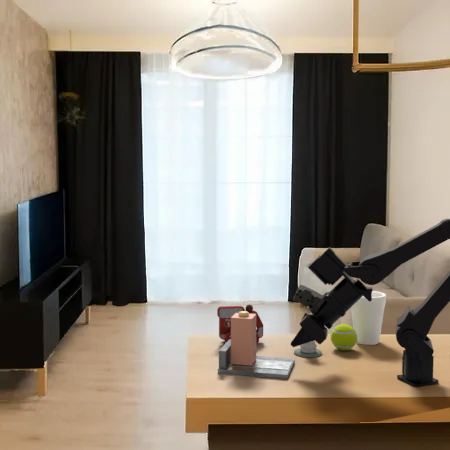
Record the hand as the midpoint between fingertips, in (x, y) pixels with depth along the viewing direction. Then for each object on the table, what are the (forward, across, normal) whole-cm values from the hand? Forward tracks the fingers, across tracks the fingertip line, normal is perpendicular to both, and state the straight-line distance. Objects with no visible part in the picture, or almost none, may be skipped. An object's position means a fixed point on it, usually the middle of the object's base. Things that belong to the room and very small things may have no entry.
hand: (291, 345), depth 142 cm
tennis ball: (-3, -20, +12) cm, 23 cm away
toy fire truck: (+16, -19, -8) cm, 26 cm away
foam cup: (-7, -29, +16) cm, 34 cm away
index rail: (+10, 0, -2) cm, 10 cm away
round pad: (+3, -14, +6) cm, 16 cm away
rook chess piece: (+3, -14, +6) cm, 16 cm away
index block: (+11, 0, -5) cm, 12 cm away
